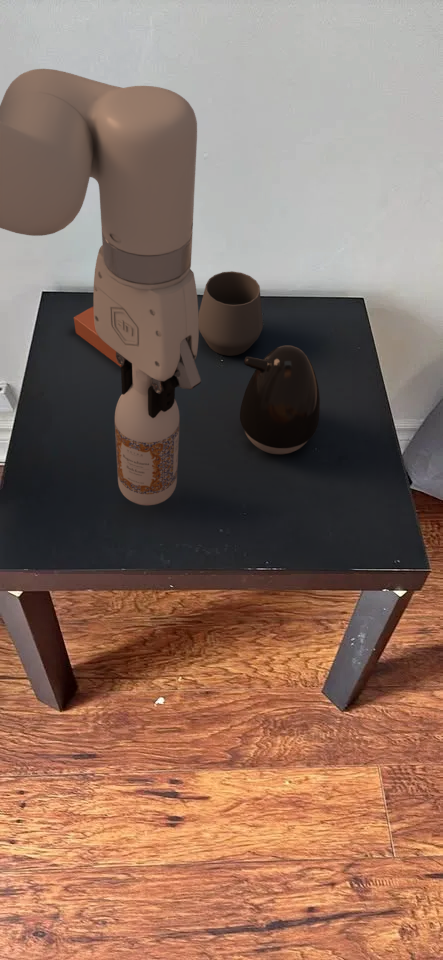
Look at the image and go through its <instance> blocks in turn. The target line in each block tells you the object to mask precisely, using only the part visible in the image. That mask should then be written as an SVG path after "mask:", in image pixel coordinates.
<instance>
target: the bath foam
mask: <svg viewBox="0 0 443 960" xmlns="http://www.w3.org/2000/svg"><path fill="white" fill-rule="evenodd" d="M132 378H133V384H132V385H131V386H130V388H129V390H128V391H127V392H126V393H125V394H124V395H123V394H122V393H121V395H120V396H119V398H118V401H117V402H116V406H115V411H114V433H115V434H114V435H115V451H116V473H117V483H118V488H119V490H120V492H121V494H122V495H123V496H124V497H125V499H126V500H128V501H130V502H132V503H134V504H136V505H141V506H155V505H158V504H161V503H163V502H165V501H167V500H168V499H169V498H170V497H171V496H172V495H173V493H174V491H175V490H176V487H177V483H178V468H179V466H178V465H179V445H180V444H179V443H180V424H181V423H180V422H181V417H180V410H179V406H178V403H177V400H176V399H175V401H174V404H173V406H172V407H171V408H170V409H169V410H167V411H166V412H163V411H162V410H161V411H160V412H159V413H158V414H157V416H156V417H155V418H152V417H151V416H149V414H148V388H149V387H150V386H152V378H151V377H150V376H149V375H147V374H146V373H144V372H143V371H142V370H140V369H139V368H138V367H136V366H135V365H133V364H132Z"/></svg>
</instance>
